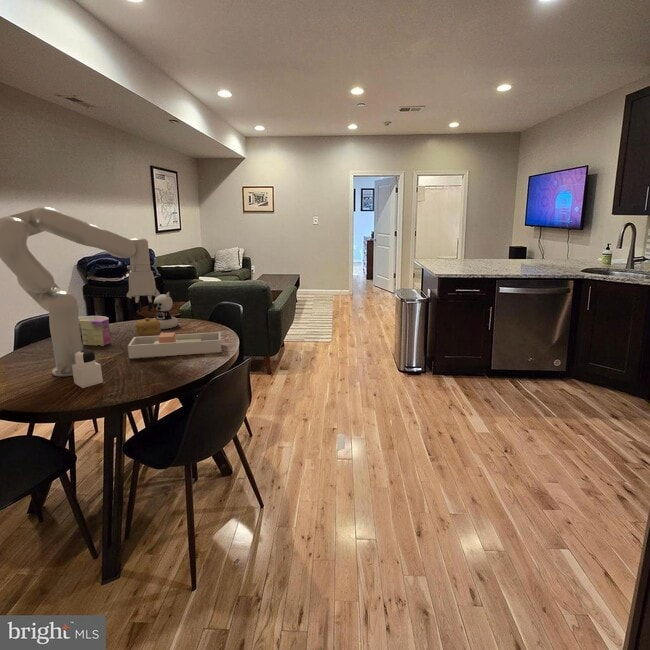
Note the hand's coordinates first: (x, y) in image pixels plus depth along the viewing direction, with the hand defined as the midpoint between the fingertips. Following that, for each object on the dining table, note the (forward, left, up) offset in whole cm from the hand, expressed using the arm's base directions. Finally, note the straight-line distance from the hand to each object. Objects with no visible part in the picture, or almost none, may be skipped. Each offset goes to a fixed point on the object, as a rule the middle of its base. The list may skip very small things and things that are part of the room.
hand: (145, 310), depth 181 cm
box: (+21, +26, -20) cm, 39 cm away
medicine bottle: (-32, +16, -19) cm, 41 cm away
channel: (0, -12, -19) cm, 23 cm away
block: (0, -8, -15) cm, 17 cm away
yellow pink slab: (+40, +36, -19) cm, 57 cm away
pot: (+28, +4, -20) cm, 34 cm away
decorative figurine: (+48, -1, -20) cm, 52 cm away
